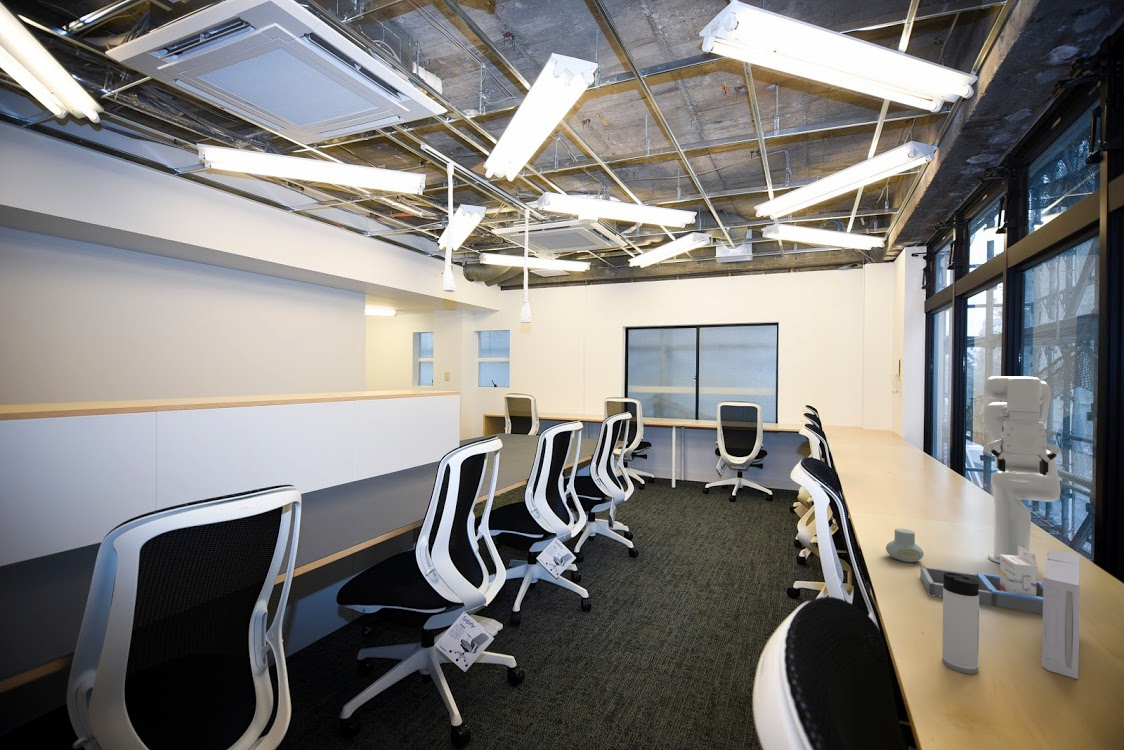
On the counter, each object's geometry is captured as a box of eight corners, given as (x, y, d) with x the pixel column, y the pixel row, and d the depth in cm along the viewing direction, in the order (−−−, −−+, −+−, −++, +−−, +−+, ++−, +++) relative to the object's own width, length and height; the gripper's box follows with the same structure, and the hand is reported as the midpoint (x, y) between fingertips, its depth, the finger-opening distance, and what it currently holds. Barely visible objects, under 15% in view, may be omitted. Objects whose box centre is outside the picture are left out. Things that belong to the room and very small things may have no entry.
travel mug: (933, 659, 116) (934, 570, 116) (960, 658, 116) (961, 569, 116) (957, 675, 109) (958, 581, 109) (986, 674, 110) (987, 580, 110)
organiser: (920, 576, 164) (920, 563, 164) (1043, 595, 150) (1043, 581, 150) (929, 595, 150) (929, 581, 150) (1066, 618, 136) (1066, 602, 136)
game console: (1040, 668, 112) (1041, 577, 112) (1046, 627, 131) (1047, 549, 131) (1078, 680, 108) (1079, 585, 108) (1079, 635, 127) (1080, 554, 127)
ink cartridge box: (998, 593, 152) (998, 543, 152) (1018, 595, 150) (1018, 545, 150) (1015, 606, 143) (1016, 553, 143) (1037, 608, 142) (1037, 555, 142)
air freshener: (918, 557, 182) (918, 528, 182) (927, 565, 174) (927, 535, 174) (882, 553, 185) (883, 525, 185) (890, 561, 177) (890, 532, 177)
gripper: (990, 416, 159) (990, 472, 159) (1065, 419, 151) (1064, 478, 151) (983, 415, 166) (983, 468, 166) (1055, 417, 158) (1054, 473, 158)
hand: (1022, 473), depth 158 cm, fingers open, 9 cm apart
